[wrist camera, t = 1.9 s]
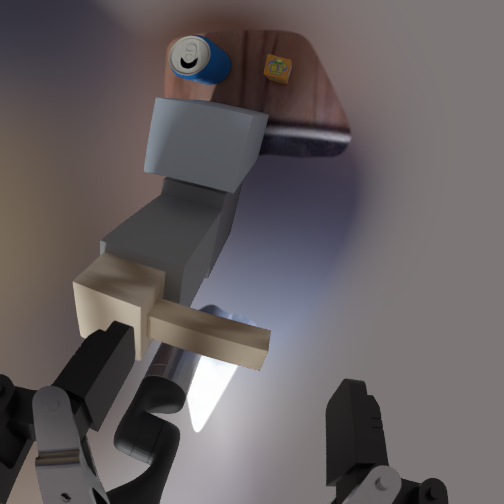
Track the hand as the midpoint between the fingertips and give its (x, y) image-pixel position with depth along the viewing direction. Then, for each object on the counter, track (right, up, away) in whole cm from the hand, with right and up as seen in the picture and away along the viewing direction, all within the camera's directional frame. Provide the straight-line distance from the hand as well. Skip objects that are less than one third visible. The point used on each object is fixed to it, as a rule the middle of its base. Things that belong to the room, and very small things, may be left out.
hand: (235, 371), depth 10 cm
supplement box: (+5, +32, +31) cm, 45 cm away
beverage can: (-6, +34, +32) cm, 47 cm away
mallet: (-5, 0, +15) cm, 16 cm away
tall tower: (-6, +14, +42) cm, 45 cm away
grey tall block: (-2, +24, +36) cm, 44 cm away
